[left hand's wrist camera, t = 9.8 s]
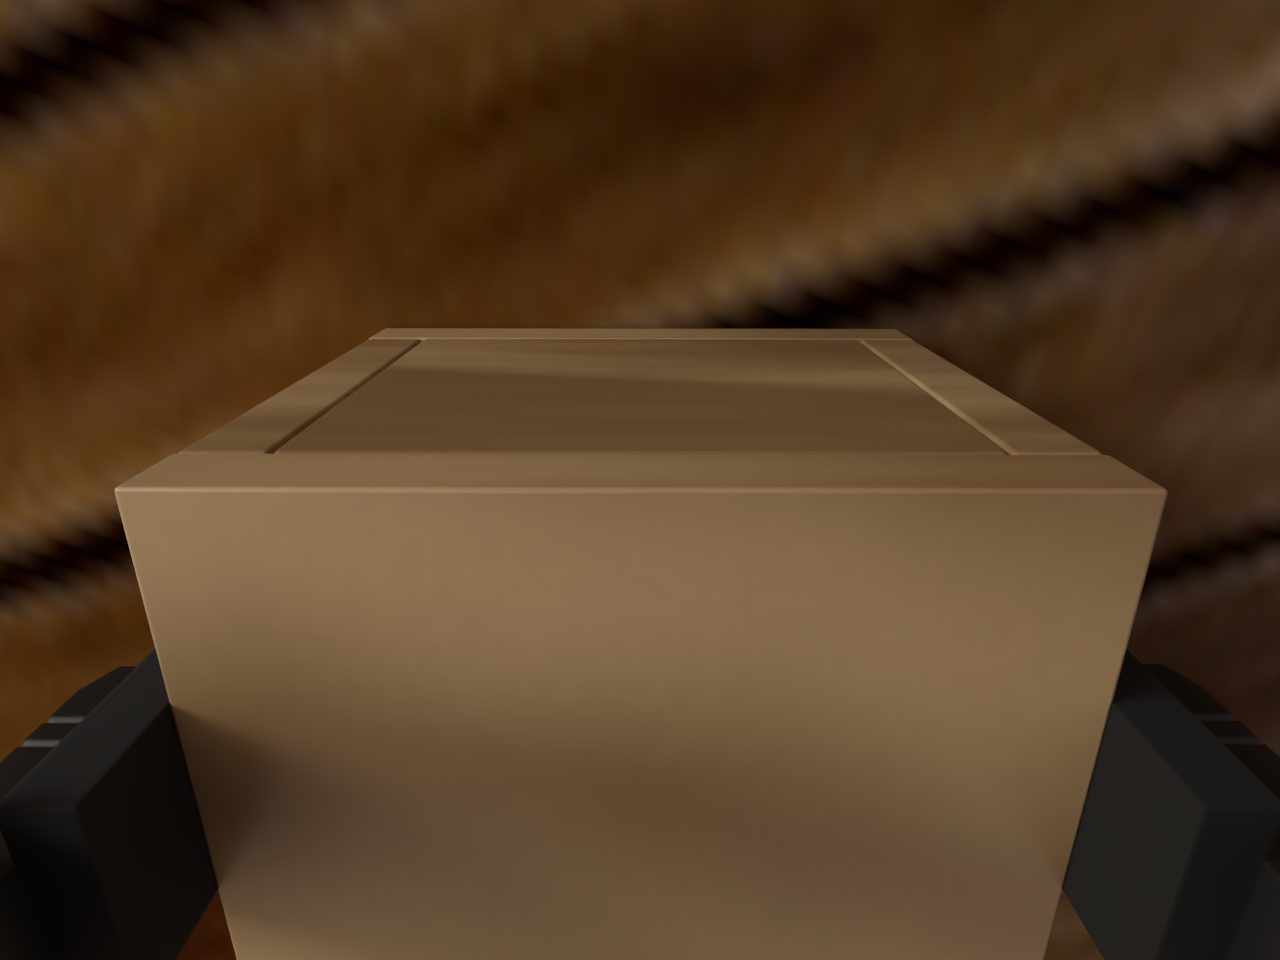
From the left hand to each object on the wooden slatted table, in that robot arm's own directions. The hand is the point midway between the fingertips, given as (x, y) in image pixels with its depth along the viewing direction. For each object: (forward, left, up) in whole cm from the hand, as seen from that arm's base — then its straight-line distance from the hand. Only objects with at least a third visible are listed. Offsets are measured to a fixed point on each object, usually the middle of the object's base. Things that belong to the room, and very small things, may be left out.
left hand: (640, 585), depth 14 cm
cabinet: (+3, +6, -4) cm, 8 cm away
